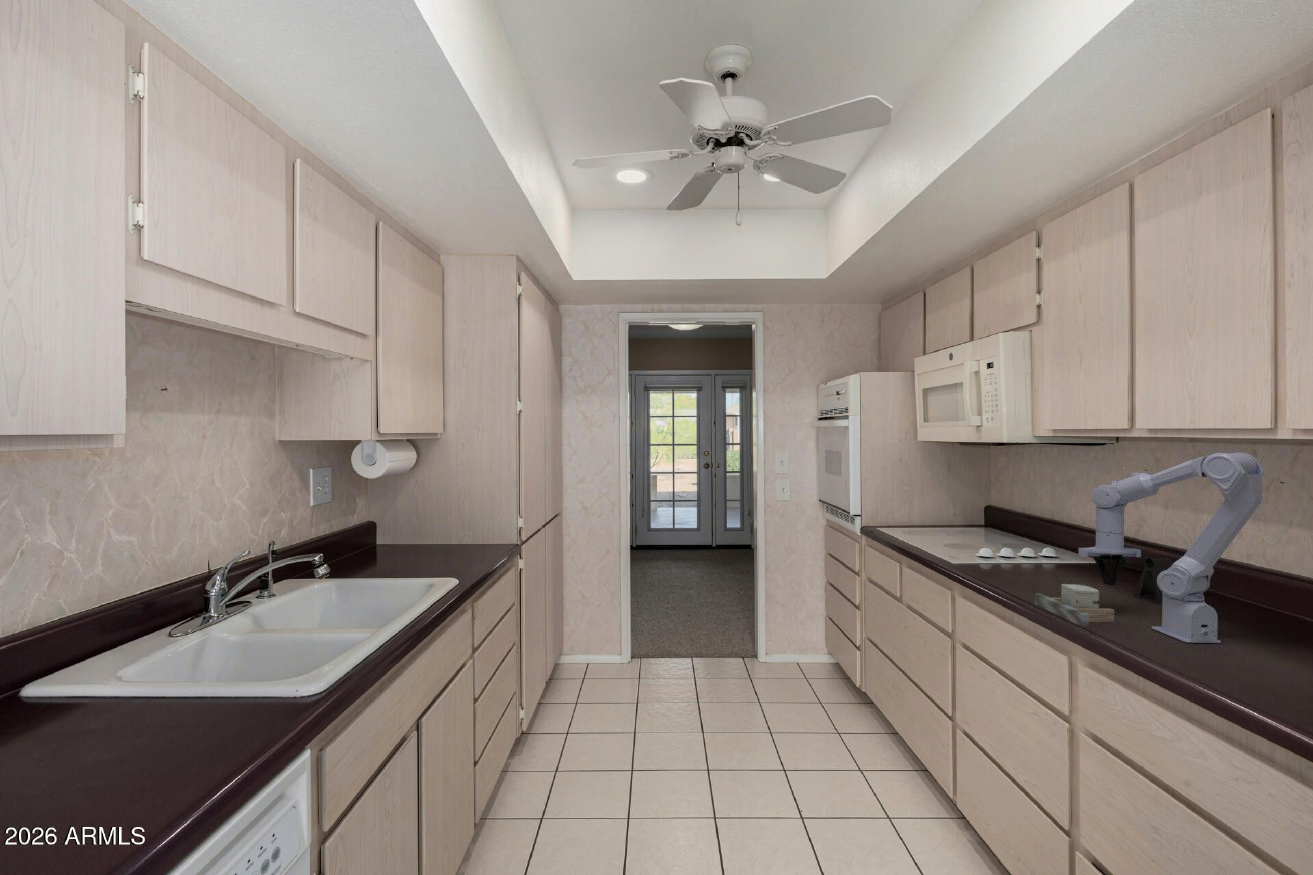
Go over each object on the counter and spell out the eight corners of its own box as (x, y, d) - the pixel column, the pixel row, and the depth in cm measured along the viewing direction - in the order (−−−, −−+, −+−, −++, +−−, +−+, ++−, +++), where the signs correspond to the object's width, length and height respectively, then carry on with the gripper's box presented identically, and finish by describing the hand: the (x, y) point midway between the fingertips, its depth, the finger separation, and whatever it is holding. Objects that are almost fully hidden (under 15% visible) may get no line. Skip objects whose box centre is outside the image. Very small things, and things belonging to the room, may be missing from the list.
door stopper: (1183, 604, 159) (1184, 561, 159) (1164, 605, 158) (1165, 561, 158) (1150, 595, 168) (1151, 554, 168) (1132, 596, 167) (1133, 554, 167)
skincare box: (1073, 618, 147) (1073, 589, 147) (1060, 610, 153) (1060, 583, 153) (1099, 619, 146) (1100, 590, 146) (1085, 612, 152) (1085, 584, 152)
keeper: (1126, 627, 141) (1126, 614, 141) (1082, 626, 141) (1082, 614, 141) (1073, 604, 159) (1073, 593, 159) (1034, 604, 159) (1034, 593, 159)
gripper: (1125, 529, 153) (1125, 580, 153) (1070, 528, 153) (1069, 580, 153) (1148, 533, 146) (1147, 587, 146) (1090, 533, 146) (1089, 587, 146)
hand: (1109, 584), depth 149 cm, fingers closed
